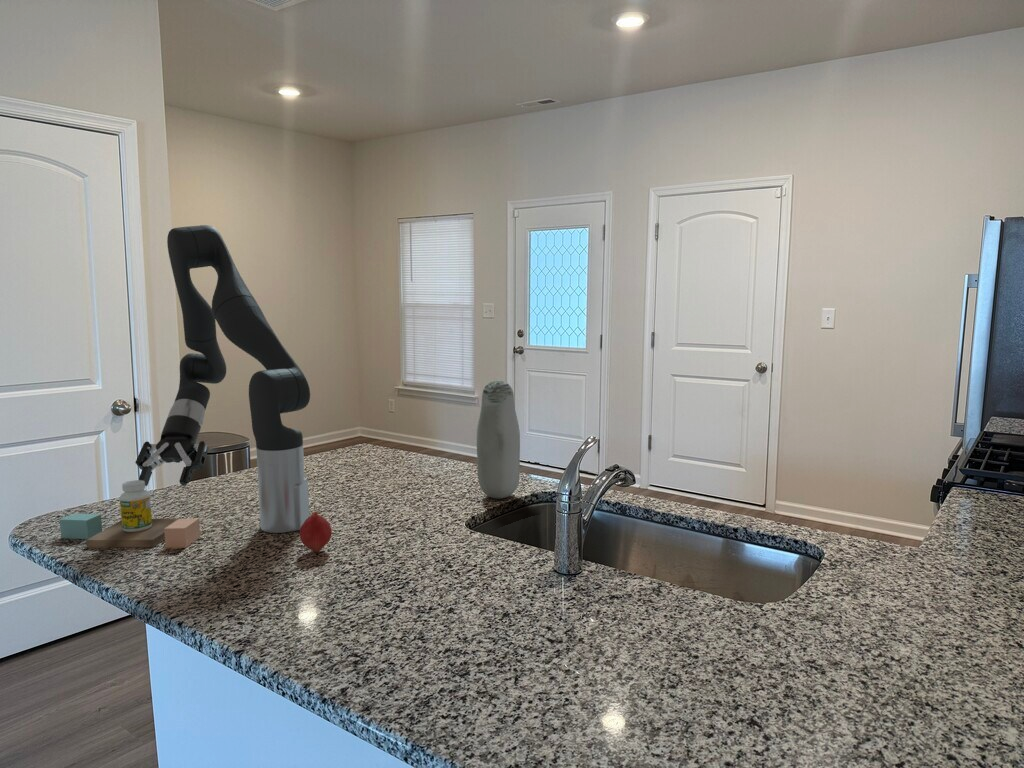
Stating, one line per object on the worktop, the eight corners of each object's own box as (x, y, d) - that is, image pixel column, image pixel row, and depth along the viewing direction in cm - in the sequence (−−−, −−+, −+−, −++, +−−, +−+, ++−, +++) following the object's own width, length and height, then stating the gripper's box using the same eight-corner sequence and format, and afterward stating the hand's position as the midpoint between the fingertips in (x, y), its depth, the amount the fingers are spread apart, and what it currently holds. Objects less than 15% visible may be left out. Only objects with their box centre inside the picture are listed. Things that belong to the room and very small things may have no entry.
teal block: (102, 533, 142) (101, 514, 141) (88, 539, 138) (86, 520, 137) (76, 531, 143) (74, 513, 142) (61, 538, 139) (59, 519, 138)
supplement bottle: (156, 523, 142) (153, 478, 141) (146, 532, 137) (142, 485, 136) (128, 524, 141) (125, 479, 140) (117, 533, 136) (113, 486, 135)
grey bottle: (472, 494, 167) (470, 380, 164) (511, 489, 171) (510, 378, 167) (485, 505, 158) (483, 384, 155) (526, 500, 161) (525, 382, 158)
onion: (293, 554, 128) (291, 512, 127) (315, 544, 133) (314, 504, 132) (317, 559, 126) (315, 517, 125) (338, 549, 131) (337, 508, 130)
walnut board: (185, 525, 146) (184, 518, 146) (153, 547, 133) (153, 539, 133) (123, 525, 146) (123, 519, 145) (86, 547, 133) (85, 540, 133)
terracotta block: (180, 537, 138) (179, 518, 138) (200, 537, 138) (198, 518, 138) (165, 548, 132) (164, 528, 132) (186, 548, 132) (185, 528, 132)
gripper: (146, 414, 156) (122, 475, 147) (209, 413, 157) (189, 475, 147) (159, 432, 162) (137, 493, 152) (220, 431, 162) (201, 492, 153)
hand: (163, 484), depth 150 cm, fingers open, 8 cm apart
